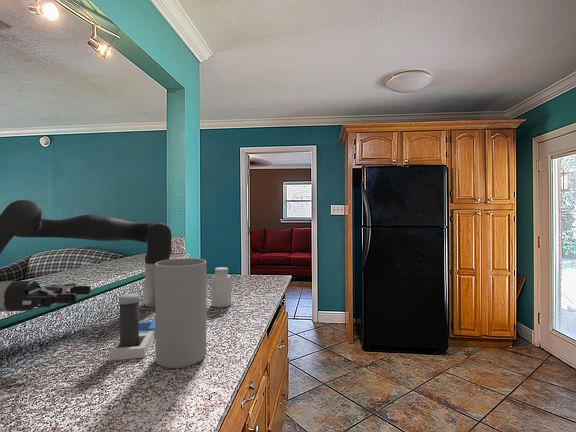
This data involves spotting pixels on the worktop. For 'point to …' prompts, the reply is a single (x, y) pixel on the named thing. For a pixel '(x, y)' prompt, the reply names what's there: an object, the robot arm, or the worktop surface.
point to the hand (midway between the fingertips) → (83, 293)
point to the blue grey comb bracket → (137, 351)
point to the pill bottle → (221, 288)
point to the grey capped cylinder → (129, 320)
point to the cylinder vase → (180, 312)
